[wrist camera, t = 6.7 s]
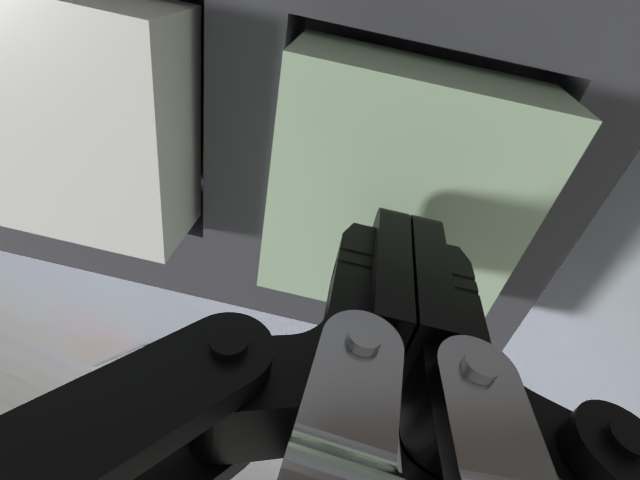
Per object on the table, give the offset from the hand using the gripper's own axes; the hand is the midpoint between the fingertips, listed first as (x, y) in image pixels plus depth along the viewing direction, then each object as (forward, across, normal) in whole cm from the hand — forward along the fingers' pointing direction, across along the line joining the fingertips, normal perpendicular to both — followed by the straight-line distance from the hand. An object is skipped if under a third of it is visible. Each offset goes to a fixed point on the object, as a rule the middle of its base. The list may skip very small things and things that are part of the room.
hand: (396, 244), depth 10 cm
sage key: (+4, 0, 0) cm, 4 cm away
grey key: (+4, +10, 0) cm, 11 cm away
